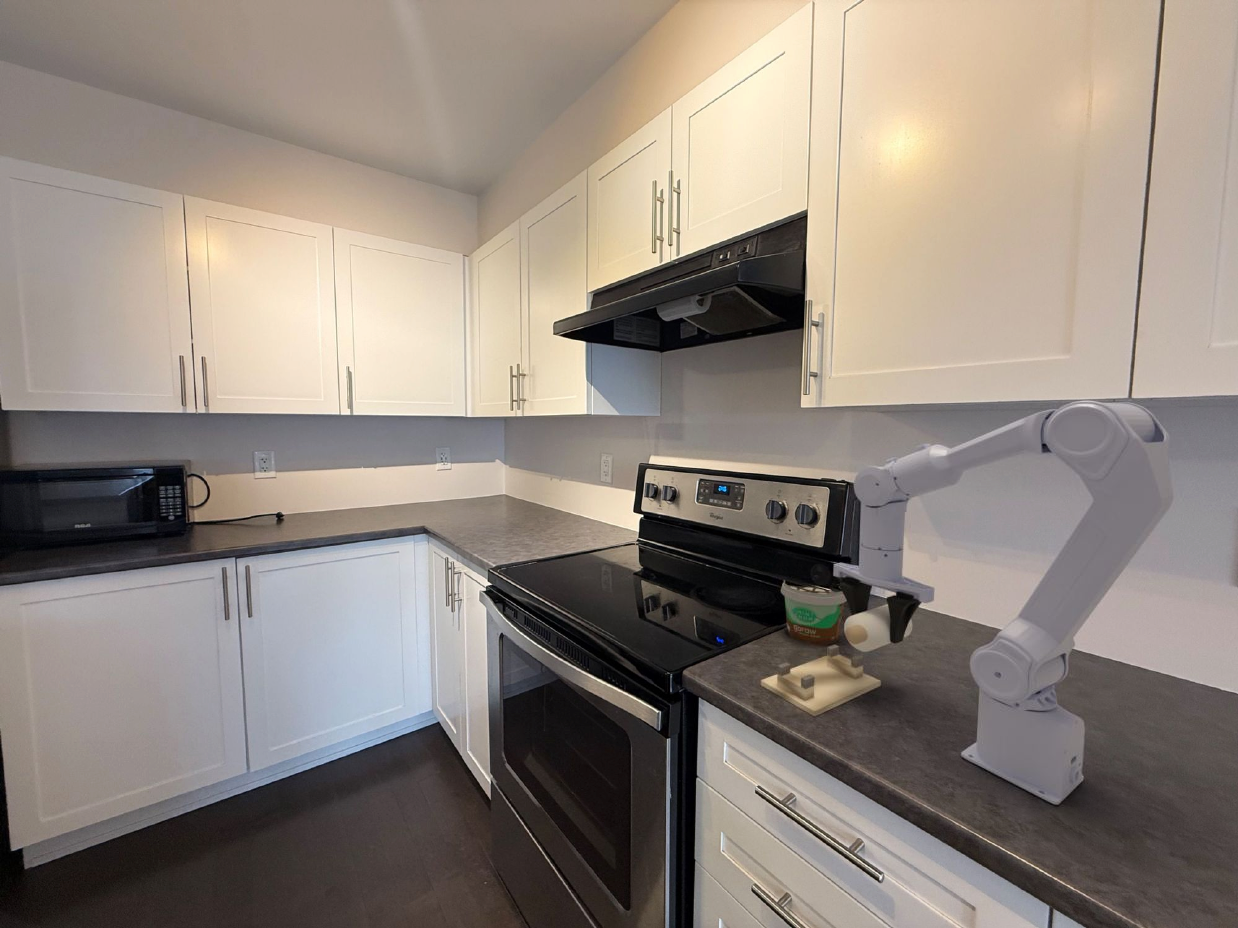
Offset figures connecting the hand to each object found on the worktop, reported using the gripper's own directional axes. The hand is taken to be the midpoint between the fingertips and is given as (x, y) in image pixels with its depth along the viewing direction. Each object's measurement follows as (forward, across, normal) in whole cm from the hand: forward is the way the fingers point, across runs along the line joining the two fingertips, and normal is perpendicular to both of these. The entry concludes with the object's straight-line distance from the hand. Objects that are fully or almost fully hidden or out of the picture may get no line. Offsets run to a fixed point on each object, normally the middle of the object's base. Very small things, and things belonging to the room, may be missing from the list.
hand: (877, 634), depth 75 cm
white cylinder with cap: (+1, 0, 0) cm, 1 cm away
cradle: (+10, +6, +5) cm, 12 cm away
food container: (+10, +18, -8) cm, 22 cm away
